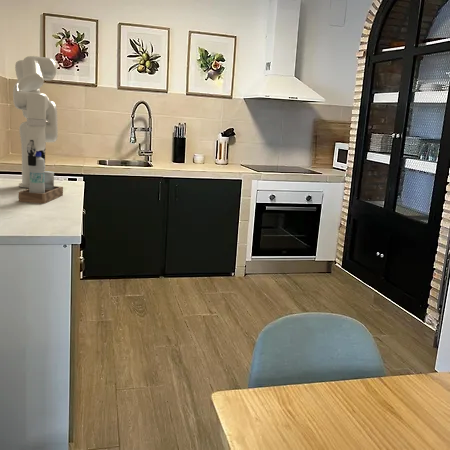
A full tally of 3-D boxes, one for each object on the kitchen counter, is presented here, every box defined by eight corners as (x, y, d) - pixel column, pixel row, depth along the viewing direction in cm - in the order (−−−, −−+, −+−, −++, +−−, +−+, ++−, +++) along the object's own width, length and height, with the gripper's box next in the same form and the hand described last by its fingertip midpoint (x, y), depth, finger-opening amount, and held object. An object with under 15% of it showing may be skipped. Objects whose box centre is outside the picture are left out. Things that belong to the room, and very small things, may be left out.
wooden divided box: (39, 193, 232) (39, 169, 229) (62, 195, 232) (62, 171, 229) (18, 201, 210) (18, 175, 208) (44, 203, 210) (44, 177, 208)
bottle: (48, 197, 218) (48, 151, 213) (37, 199, 212) (36, 151, 207) (37, 195, 220) (37, 149, 216) (25, 197, 214) (24, 150, 210)
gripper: (35, 122, 217) (36, 162, 221) (18, 123, 201) (19, 165, 204) (53, 123, 217) (53, 163, 221) (37, 124, 200) (37, 167, 204)
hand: (36, 164), depth 213 cm, fingers open, 9 cm apart
